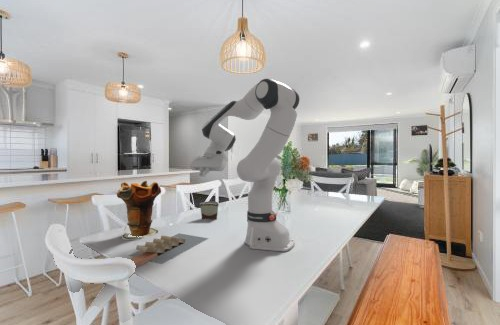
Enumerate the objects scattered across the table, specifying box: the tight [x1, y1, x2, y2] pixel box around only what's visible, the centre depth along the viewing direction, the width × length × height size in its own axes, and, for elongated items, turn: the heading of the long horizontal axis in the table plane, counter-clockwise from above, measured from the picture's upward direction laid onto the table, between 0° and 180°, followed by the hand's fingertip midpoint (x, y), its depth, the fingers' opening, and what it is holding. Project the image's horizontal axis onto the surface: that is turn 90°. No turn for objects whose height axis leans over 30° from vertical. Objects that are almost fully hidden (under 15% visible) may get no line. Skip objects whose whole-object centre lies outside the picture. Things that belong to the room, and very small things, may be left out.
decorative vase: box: [116, 180, 162, 241], centre depth 124 cm, size 21×23×28 cm
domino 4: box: [152, 237, 179, 246], centre depth 102 cm, size 2×5×10 cm
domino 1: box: [135, 244, 165, 253], centre depth 95 cm, size 2×5×10 cm
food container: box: [199, 201, 220, 220], centre depth 153 cm, size 12×6×10 cm, turn 84°
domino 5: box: [160, 235, 185, 243], centre depth 106 cm, size 2×5×10 cm
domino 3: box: [144, 241, 173, 249], centre depth 98 cm, size 2×5×10 cm
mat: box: [128, 233, 210, 265], centre depth 105 cm, size 18×29×1 cm, turn 154°
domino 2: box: [129, 252, 157, 268], centre depth 91 cm, size 2×5×10 cm
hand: (201, 175), depth 123 cm, fingers closed
